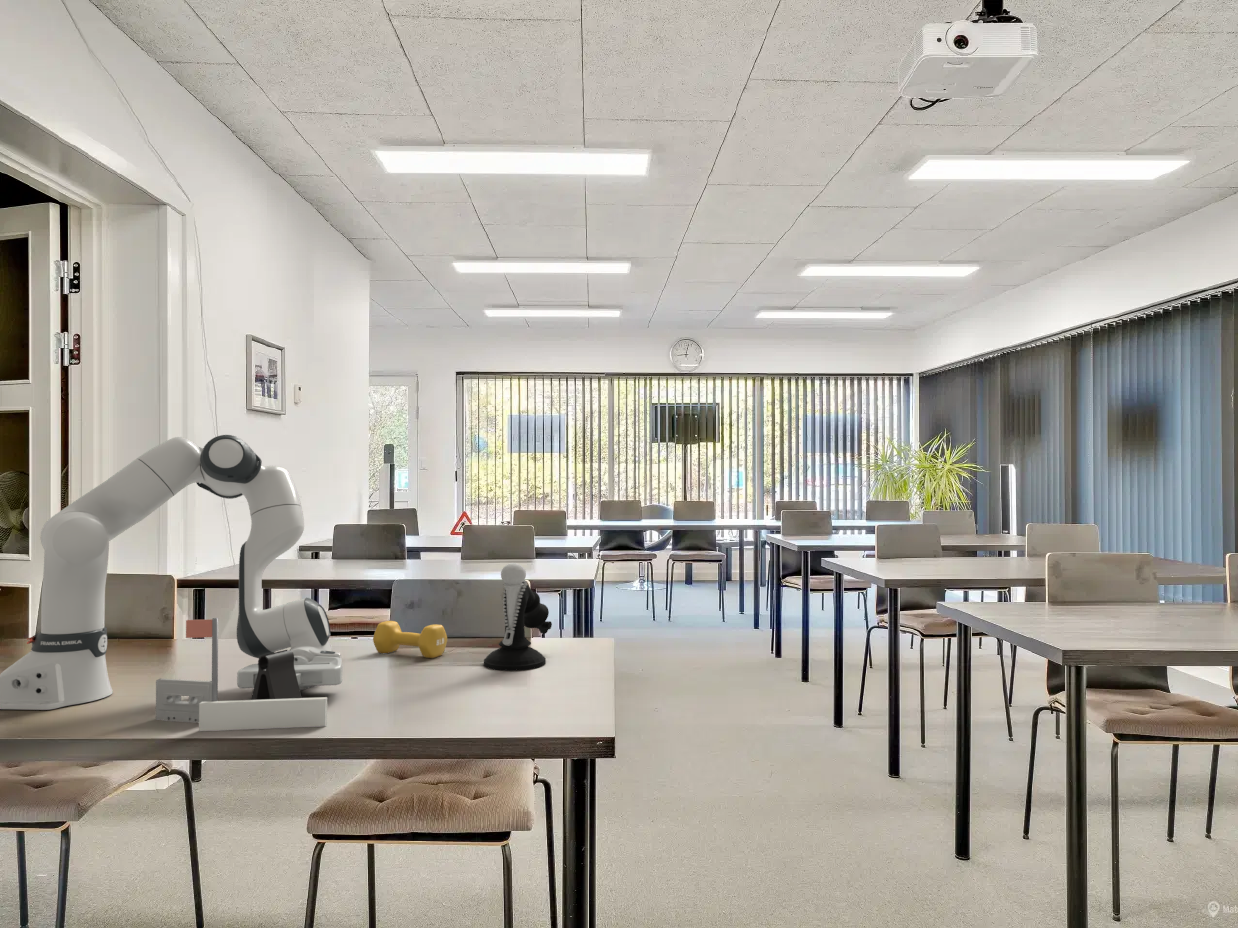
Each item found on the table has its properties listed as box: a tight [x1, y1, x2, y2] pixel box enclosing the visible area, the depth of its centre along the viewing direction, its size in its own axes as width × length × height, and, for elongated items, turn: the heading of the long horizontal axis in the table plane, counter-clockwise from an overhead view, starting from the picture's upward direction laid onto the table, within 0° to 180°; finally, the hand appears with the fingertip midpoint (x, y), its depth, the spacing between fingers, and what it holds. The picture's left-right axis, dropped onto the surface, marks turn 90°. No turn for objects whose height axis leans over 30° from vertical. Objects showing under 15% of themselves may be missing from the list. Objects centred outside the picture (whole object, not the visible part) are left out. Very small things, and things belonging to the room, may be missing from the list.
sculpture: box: [483, 562, 553, 672], centre depth 204 cm, size 15×24×25 cm, turn 157°
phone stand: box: [250, 649, 303, 700], centre depth 156 cm, size 9×6×12 cm, turn 64°
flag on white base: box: [185, 617, 328, 732], centre depth 154 cm, size 25×14×20 cm, turn 98°
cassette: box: [155, 678, 212, 724], centre depth 153 cm, size 12×2×8 cm, turn 80°
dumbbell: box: [372, 620, 448, 659], centre depth 211 cm, size 19×9×8 cm, turn 67°
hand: (281, 684), depth 159 cm, fingers closed
